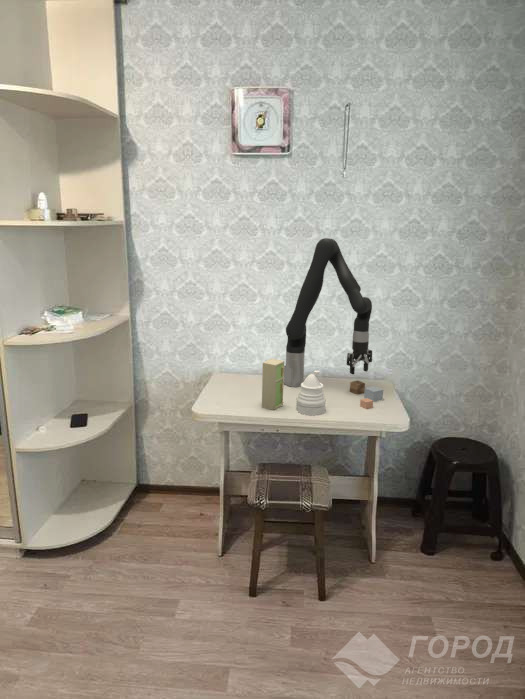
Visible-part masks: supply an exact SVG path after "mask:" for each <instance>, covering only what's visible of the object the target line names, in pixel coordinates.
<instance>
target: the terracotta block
mask: <svg viewBox="0 0 525 699" xmlns="http://www.w3.org/2000/svg"><path fill="white" fill-rule="evenodd" d="M359 401H360V402H359V403H360V404H359V407H361V408H362V409H365V410H369V409H372V408H374V403H373V400H370V399H368V398H365V399H363V398H361V399H360V400H359Z"/></svg>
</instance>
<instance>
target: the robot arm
mask: <svg viewBox="0 0 525 699" xmlns="http://www.w3.org/2000/svg"><path fill="white" fill-rule="evenodd" d="M328 263H330V264H331V265H332V267H333V269H334V271H335V273H336V275H337V276H336V277H337V279H338V281H339V282H338V283H339V284H340V285H341V288H343V291H344V292H345V294H346V295H347V297H348V301H349V304H350V306H351V308H352V309H353V311H354V312H355V313H356V317H355V319H354V321H353V333H352V343H351V344H352V347H351V348H352V352H351V353H350V352H348V353H346V354H347V355H346V366H349V373H350V375H355V373H356V372H355V370H356V369H355V368H356V367H355V366H356V364H358V362H361V361H362V362H363V372H368V370H369V364H370V363H372V362H373V350H371V349H369V340H370V319H371V315H372V311H373V303H372V301H371V299H370V298H369V297H368V296H367V297H366V296H363V295H362V293H361V291H362V290H361V289H362V288H361V286H360V284H359V282H358V281H357V280H356V279H357V278H355V276H354V275H353V273H352V271H351V269H350V268H349V266H348V264H347V263H346V260H345V257H344V256H343V254H342V251H341V249H340V245H339V243H338V242H337V241H336V240H335V239H333V238H328V237H324V238H321V239H320V240H319V241H318V242H317V243H316V245H315V248H314V252H313V256H312V260H311V263H310V266H309V269H308V270H307V273H306V276H305V278H304V280H303V284H302V286H301V288H300V291H299V293H298V294H299V295H298V297H297V300H296V305H295V306H294V307H295V308H294V311H293V314H292V316H290V317H291V318H290V319H289V321H288V324H287V325H286V327H285V334H286V336H287V342H286V346H285V348H286V349H285V365H284V383H283V385H286V386H288V387H290V388H291V387H293V388H294V387H296V388H298V387H301V383H303V382H304V381H305V379H304V375H305V373H304V372H305V354H306V353H305V350H306V341H307V322H308V318H309V315H310V314H311V312H312V311H313V308H314V307H315V305H316V303H317V301H318V299H319V296H320V294H321V292H322V290H323V286H324V278H325V277H324V276H325V271H326V268H327V265H328Z"/></svg>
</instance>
